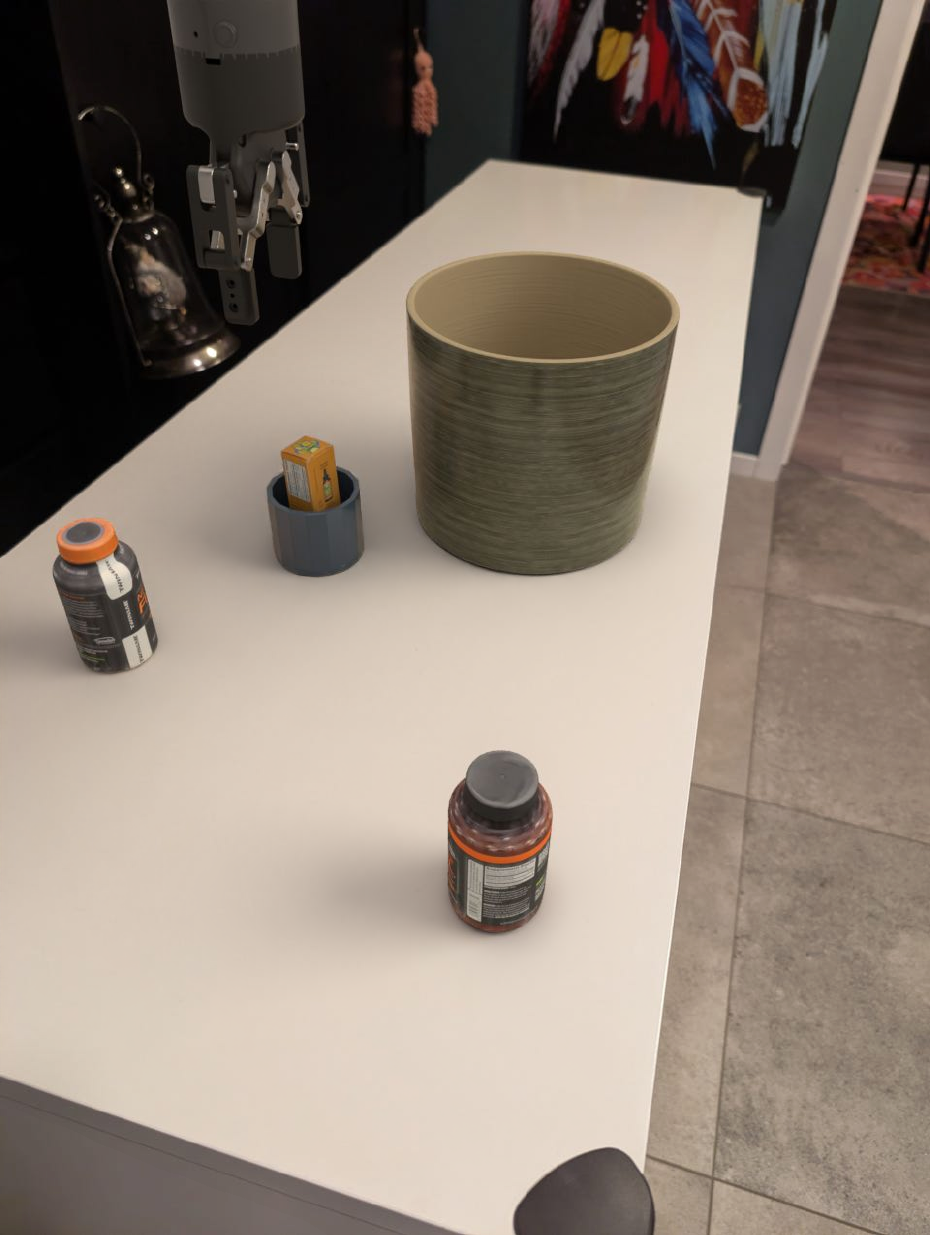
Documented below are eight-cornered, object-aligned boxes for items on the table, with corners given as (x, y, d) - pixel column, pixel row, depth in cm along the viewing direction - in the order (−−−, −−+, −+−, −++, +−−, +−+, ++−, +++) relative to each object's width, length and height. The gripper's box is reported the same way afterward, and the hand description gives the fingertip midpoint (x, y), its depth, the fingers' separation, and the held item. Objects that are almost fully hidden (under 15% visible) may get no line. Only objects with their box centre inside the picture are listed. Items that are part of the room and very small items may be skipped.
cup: (262, 569, 83) (252, 507, 79) (293, 519, 89) (285, 458, 85) (348, 582, 82) (343, 520, 78) (374, 530, 88) (370, 470, 84)
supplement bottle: (449, 851, 62) (450, 732, 54) (542, 854, 61) (555, 735, 54) (445, 935, 57) (445, 818, 50) (545, 938, 57) (560, 822, 50)
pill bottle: (170, 656, 75) (140, 539, 67) (94, 686, 72) (54, 567, 65) (143, 614, 78) (111, 499, 71) (70, 641, 76) (29, 524, 68)
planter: (371, 544, 86) (358, 331, 73) (462, 429, 102) (465, 236, 89) (610, 605, 80) (643, 385, 67) (668, 473, 96) (704, 273, 83)
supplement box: (317, 529, 87) (306, 431, 80) (346, 542, 85) (338, 444, 79) (291, 546, 85) (279, 448, 78) (320, 560, 83) (310, 461, 77)
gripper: (225, 13, 64) (253, 258, 74) (122, 53, 53) (172, 333, 63) (333, 20, 62) (346, 268, 73) (250, 63, 52) (280, 346, 62)
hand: (265, 298), depth 68 cm, fingers open, 8 cm apart
